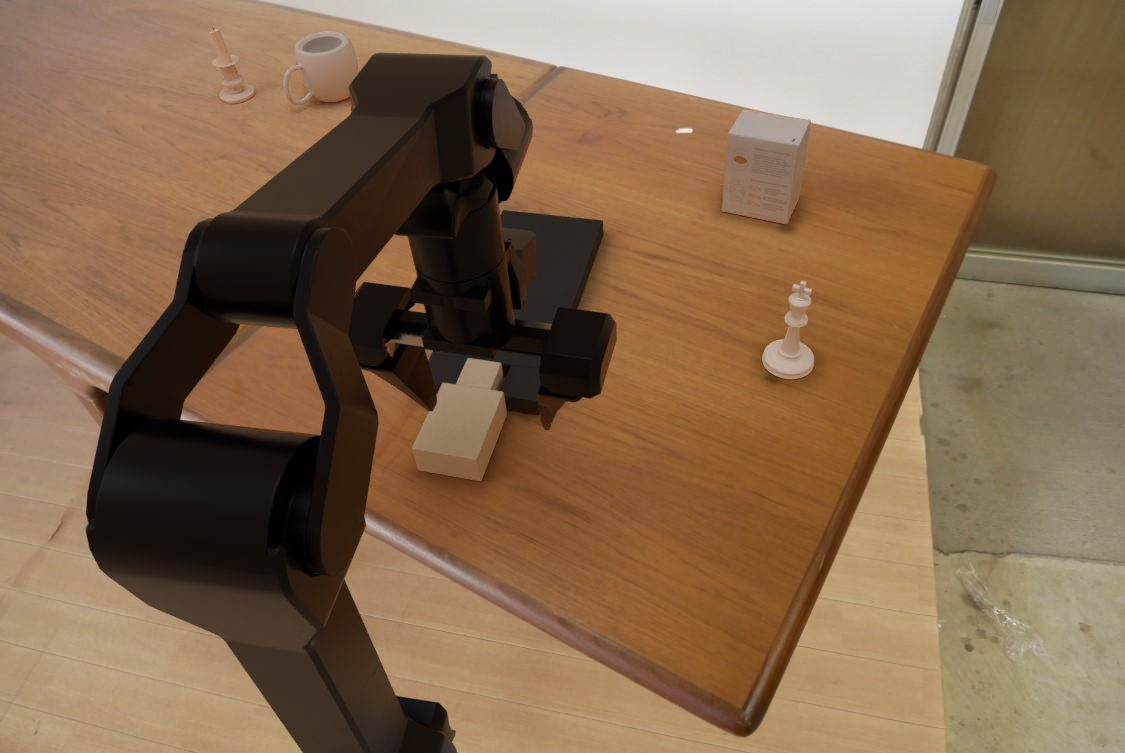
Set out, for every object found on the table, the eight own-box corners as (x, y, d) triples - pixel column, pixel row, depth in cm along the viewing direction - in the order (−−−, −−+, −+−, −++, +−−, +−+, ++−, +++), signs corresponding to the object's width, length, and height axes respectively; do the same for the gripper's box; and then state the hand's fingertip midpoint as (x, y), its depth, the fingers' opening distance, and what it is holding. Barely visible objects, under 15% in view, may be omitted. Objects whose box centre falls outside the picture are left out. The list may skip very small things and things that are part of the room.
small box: (799, 199, 100) (813, 119, 92) (787, 226, 96) (801, 145, 89) (733, 186, 102) (742, 107, 94) (719, 212, 99) (727, 132, 91)
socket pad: (539, 415, 79) (537, 401, 78) (420, 396, 82) (416, 382, 80) (603, 234, 97) (603, 220, 96) (504, 223, 100) (502, 209, 98)
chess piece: (772, 337, 84) (786, 259, 77) (820, 353, 82) (839, 274, 75) (754, 369, 81) (766, 291, 74) (803, 386, 80) (821, 307, 72)
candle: (213, 97, 125) (186, 29, 118) (242, 83, 128) (217, 15, 120) (233, 107, 123) (207, 38, 115) (262, 92, 125) (239, 23, 118)
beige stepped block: (481, 481, 74) (476, 459, 72) (418, 470, 75) (411, 448, 73) (517, 387, 82) (514, 364, 79) (459, 378, 83) (454, 355, 81)
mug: (341, 74, 128) (327, 23, 122) (376, 90, 124) (363, 38, 118) (275, 106, 122) (257, 54, 117) (309, 125, 118) (293, 72, 112)
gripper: (632, 192, 55) (632, 357, 67) (372, 167, 59) (413, 327, 71) (594, 304, 48) (601, 468, 60) (301, 267, 52) (360, 427, 63)
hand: (489, 415), depth 63 cm, fingers open, 9 cm apart
